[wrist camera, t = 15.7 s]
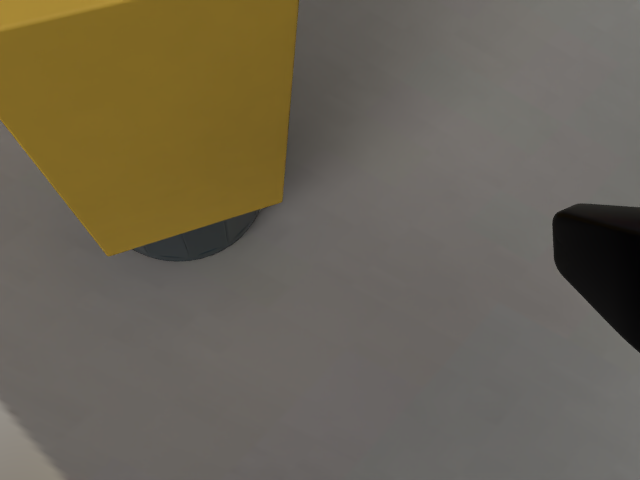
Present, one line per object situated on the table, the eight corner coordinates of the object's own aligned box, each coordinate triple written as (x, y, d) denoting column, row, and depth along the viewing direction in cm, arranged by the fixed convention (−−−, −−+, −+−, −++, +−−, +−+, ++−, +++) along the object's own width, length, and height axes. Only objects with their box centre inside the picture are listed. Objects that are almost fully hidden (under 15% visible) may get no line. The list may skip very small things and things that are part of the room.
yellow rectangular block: (218, 35, 19) (183, -305, 10) (282, 202, 17) (304, -41, 9) (55, 75, 18) (-130, -265, 9) (107, 257, 16) (-63, 43, 8)
